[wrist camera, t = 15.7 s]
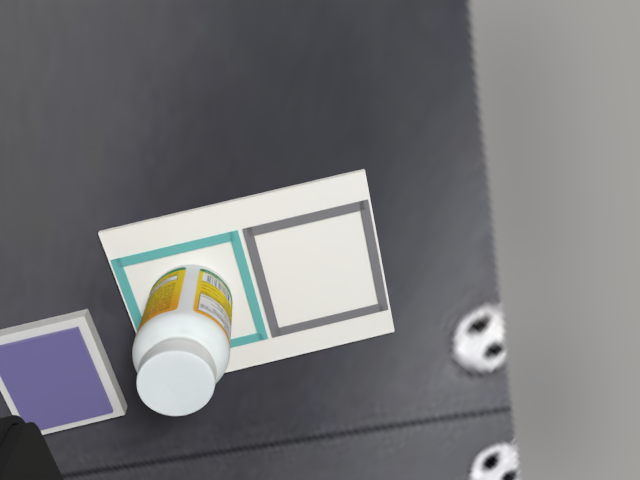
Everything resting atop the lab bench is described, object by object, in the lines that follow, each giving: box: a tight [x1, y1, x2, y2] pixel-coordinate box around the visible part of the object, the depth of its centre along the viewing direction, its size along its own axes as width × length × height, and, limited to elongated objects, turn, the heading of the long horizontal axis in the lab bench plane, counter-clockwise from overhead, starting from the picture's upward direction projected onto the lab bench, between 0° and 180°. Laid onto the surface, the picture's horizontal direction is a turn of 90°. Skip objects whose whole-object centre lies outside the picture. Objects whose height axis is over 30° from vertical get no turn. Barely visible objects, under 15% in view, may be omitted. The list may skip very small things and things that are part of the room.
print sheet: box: [98, 169, 394, 373], centre depth 41 cm, size 12×17×1 cm
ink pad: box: [0, 309, 127, 435], centre depth 41 cm, size 8×7×1 cm
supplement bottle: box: [132, 264, 233, 416], centre depth 36 cm, size 5×5×10 cm
